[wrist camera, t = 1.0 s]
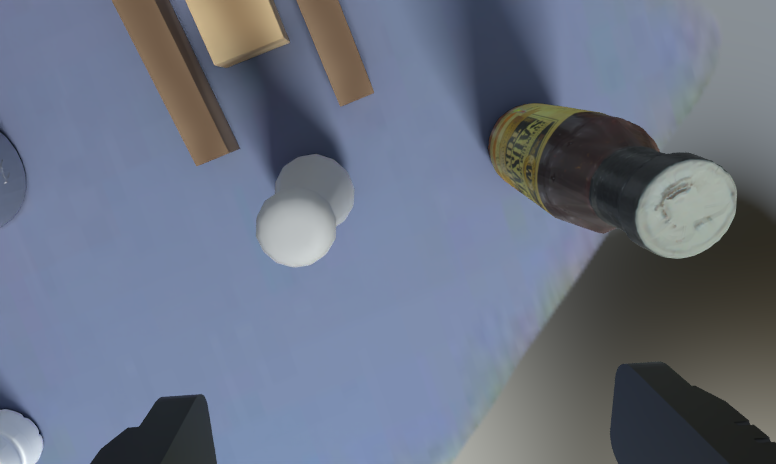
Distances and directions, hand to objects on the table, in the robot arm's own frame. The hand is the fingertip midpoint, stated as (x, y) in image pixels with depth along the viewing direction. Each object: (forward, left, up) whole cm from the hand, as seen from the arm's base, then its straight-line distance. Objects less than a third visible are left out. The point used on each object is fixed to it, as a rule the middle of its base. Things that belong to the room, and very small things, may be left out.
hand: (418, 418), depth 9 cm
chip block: (-5, +14, -30) cm, 33 cm away
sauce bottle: (+11, -2, -29) cm, 31 cm away
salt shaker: (-5, +1, -29) cm, 30 cm away
